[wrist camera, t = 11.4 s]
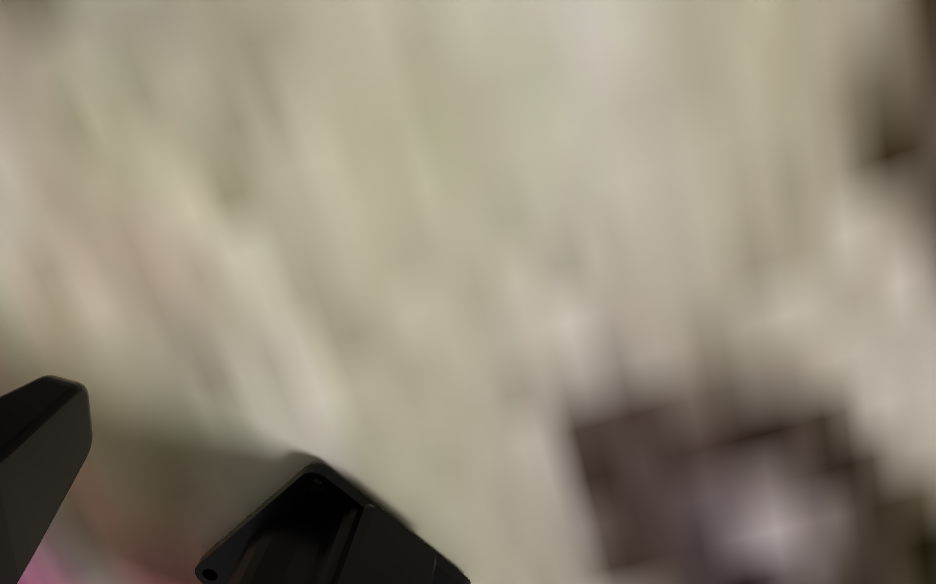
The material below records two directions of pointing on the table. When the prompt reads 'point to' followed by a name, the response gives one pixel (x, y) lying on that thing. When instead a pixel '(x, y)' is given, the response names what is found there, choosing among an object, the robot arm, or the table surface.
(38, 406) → the robot arm
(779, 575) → the table surface
